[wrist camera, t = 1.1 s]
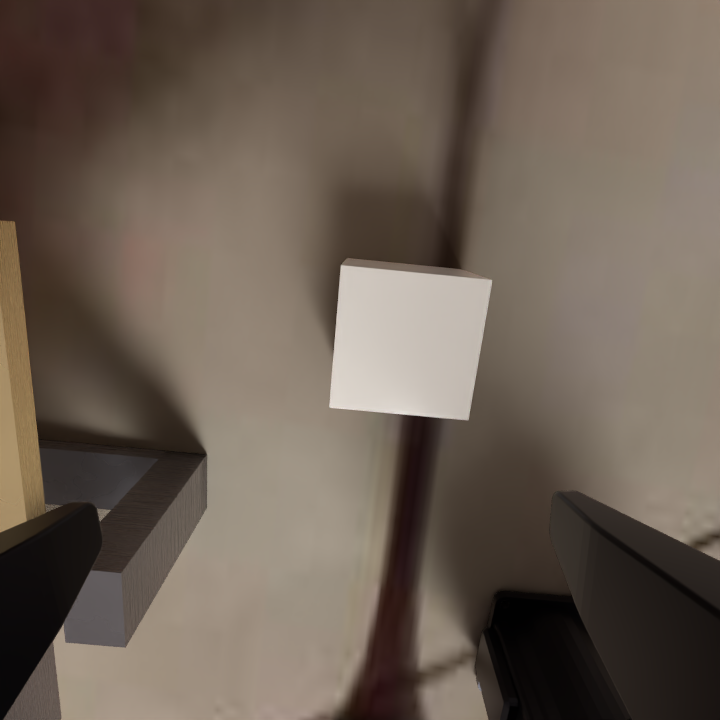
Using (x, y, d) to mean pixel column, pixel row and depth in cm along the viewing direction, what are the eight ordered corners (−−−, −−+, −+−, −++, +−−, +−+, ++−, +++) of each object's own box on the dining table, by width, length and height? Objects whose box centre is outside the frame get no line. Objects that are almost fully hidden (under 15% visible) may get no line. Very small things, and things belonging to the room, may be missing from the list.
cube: (460, 269, 20) (492, 279, 15) (444, 377, 21) (468, 420, 16) (346, 257, 20) (340, 265, 15) (337, 367, 21) (329, 407, 16)
